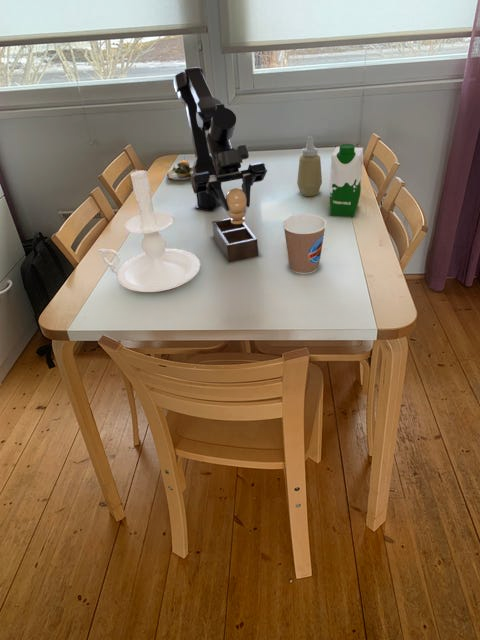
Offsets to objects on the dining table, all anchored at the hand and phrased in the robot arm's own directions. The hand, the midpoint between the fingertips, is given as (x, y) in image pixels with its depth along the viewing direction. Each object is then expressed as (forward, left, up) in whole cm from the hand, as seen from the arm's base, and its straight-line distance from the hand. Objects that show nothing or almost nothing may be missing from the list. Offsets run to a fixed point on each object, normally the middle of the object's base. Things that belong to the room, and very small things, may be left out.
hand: (238, 208), depth 118 cm
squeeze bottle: (+2, +45, -13) cm, 47 cm away
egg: (-1, +1, -4) cm, 4 cm away
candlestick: (-15, -19, -13) cm, 28 cm away
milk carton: (+17, +35, -13) cm, 41 cm away
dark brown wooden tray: (-4, +3, -13) cm, 14 cm away
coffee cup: (+18, 0, -13) cm, 22 cm away
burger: (-48, +45, -13) cm, 67 cm away
